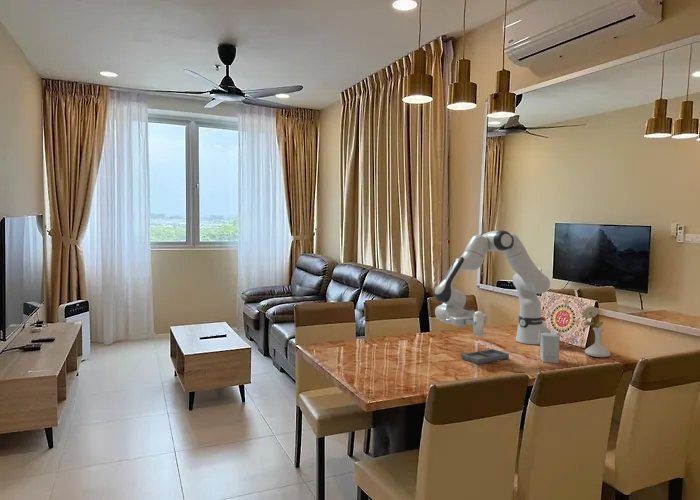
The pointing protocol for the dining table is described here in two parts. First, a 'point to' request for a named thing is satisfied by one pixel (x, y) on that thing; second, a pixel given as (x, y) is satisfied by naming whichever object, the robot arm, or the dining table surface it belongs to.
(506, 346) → the dining table surface
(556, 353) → the supplement box
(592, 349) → the flower in vase
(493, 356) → the caddy
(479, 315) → the white round-topped cylinder
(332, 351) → the dining table surface
